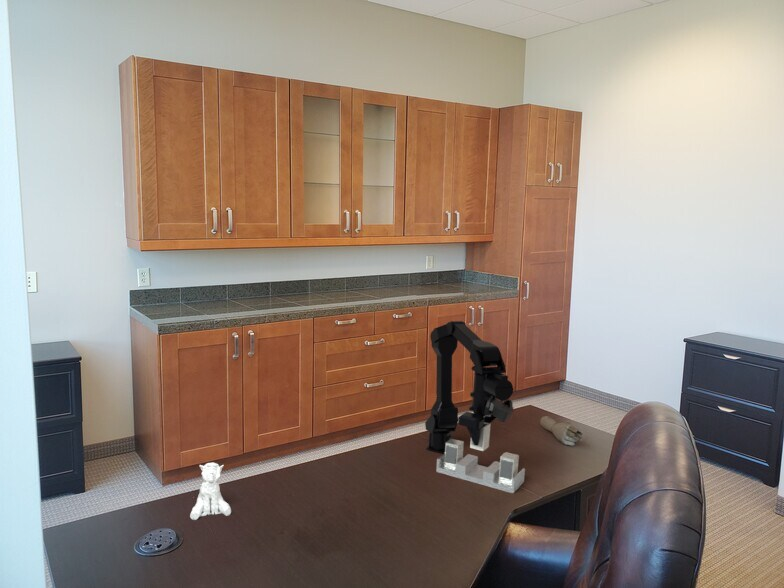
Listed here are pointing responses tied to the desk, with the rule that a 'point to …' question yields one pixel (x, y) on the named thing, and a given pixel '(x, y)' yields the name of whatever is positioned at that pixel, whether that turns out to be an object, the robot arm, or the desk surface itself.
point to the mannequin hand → (562, 430)
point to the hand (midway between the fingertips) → (479, 442)
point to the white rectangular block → (482, 439)
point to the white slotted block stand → (481, 468)
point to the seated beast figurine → (210, 493)
